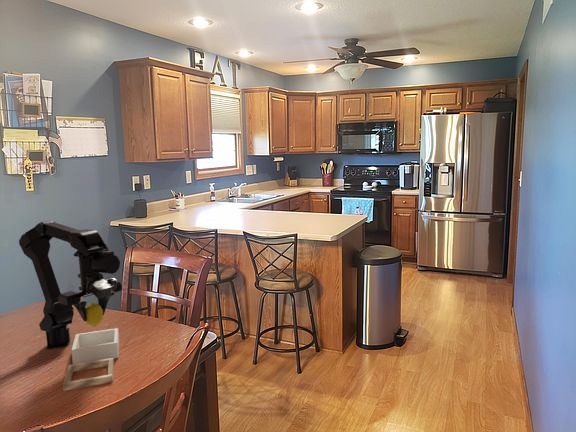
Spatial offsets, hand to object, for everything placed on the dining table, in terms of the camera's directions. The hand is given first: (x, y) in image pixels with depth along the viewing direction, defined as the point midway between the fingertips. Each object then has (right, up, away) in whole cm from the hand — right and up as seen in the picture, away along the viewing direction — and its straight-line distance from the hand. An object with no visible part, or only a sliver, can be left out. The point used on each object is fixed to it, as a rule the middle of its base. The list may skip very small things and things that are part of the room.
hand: (93, 318), depth 143 cm
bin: (0, -12, +2) cm, 12 cm away
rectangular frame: (+5, -14, -14) cm, 20 cm away
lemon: (0, -3, 0) cm, 3 cm away
